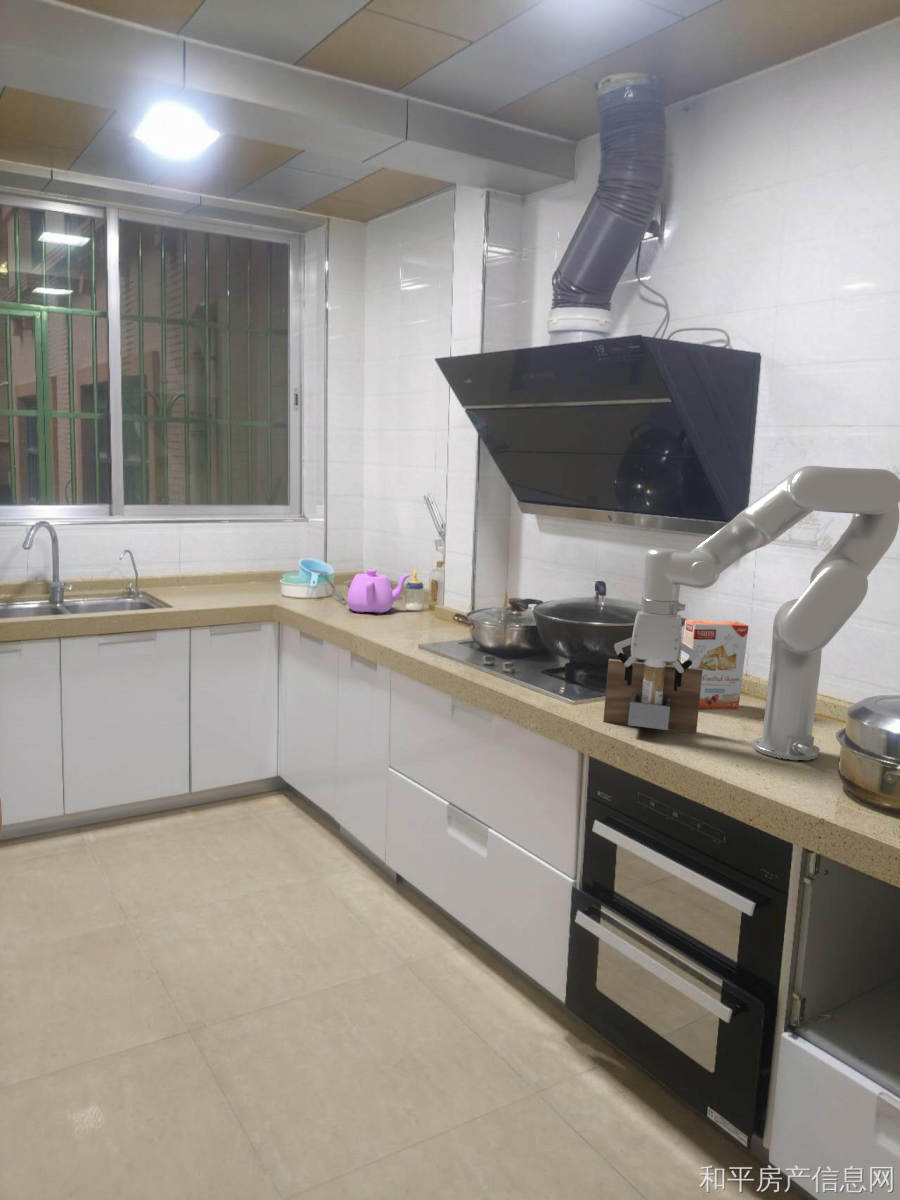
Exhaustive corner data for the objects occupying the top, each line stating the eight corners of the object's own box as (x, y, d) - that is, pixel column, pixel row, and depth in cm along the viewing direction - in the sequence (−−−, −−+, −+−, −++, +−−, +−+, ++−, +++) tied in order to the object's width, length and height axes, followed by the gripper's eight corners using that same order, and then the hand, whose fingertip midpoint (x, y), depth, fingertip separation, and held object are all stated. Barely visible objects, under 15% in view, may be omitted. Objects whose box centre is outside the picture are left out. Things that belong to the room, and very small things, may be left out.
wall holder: (695, 745, 189) (702, 679, 187) (598, 732, 194) (604, 668, 192) (696, 731, 199) (702, 668, 197) (604, 719, 204) (609, 658, 202)
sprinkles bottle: (663, 721, 192) (669, 659, 190) (642, 720, 192) (648, 658, 190) (657, 715, 197) (663, 654, 195) (636, 714, 197) (642, 653, 194)
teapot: (344, 615, 317) (346, 572, 314) (348, 606, 337) (349, 565, 335) (410, 618, 318) (412, 575, 316) (409, 608, 339) (411, 568, 336)
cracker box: (686, 709, 217) (694, 623, 213) (675, 703, 222) (683, 618, 219) (740, 709, 219) (749, 624, 216) (728, 703, 225) (736, 619, 222)
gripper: (702, 608, 192) (694, 687, 195) (619, 601, 197) (612, 678, 199) (702, 614, 185) (693, 696, 188) (616, 606, 190) (609, 686, 192)
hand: (652, 686), depth 194 cm, fingers open, 9 cm apart
